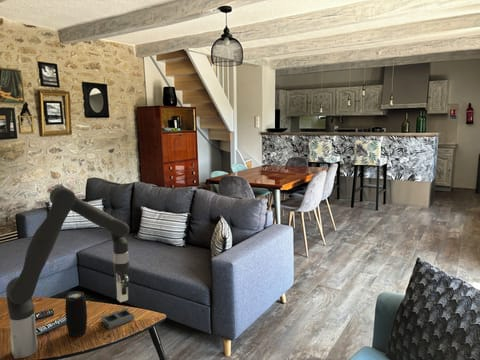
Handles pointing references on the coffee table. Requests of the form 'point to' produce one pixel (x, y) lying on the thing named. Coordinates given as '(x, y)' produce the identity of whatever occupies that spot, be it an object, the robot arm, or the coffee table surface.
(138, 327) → the coffee table surface
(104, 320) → the panel
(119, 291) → the plug
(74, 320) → the portable speaker
